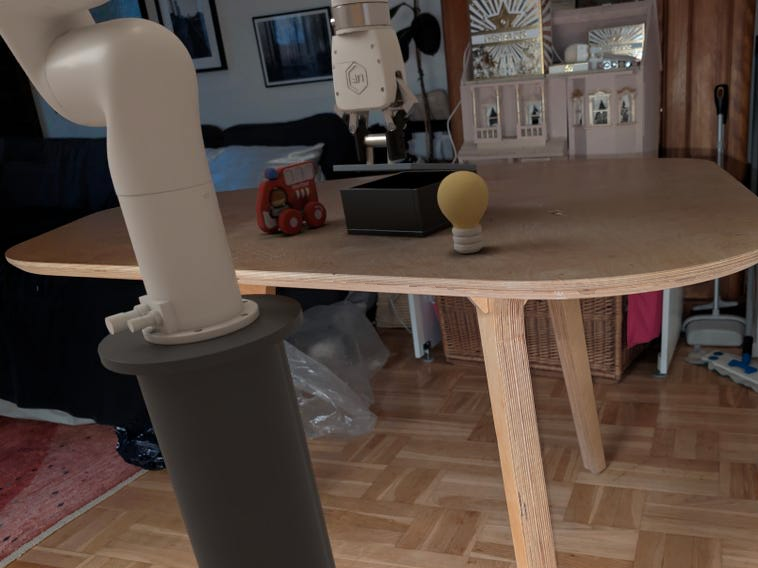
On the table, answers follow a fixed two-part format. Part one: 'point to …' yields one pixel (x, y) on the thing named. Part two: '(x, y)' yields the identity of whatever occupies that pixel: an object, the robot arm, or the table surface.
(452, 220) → the light bulb
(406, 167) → the lid
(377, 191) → the compartment
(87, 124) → the robot arm
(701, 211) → the table surface
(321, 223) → the toy fire truck
